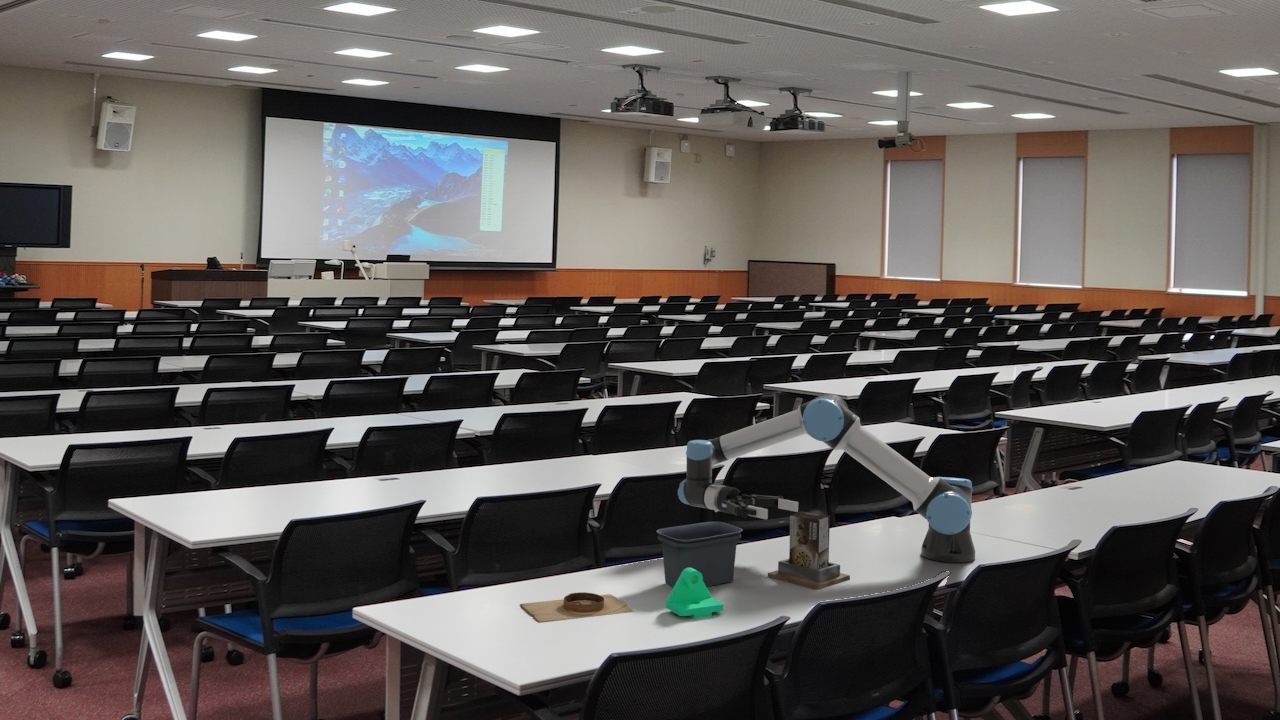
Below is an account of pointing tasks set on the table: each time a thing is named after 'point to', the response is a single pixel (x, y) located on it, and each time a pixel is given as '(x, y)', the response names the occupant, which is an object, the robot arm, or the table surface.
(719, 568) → the storage bin
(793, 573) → the socket
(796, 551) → the coffee box
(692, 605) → the camera mount
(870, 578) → the table surface
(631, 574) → the table surface
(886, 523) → the table surface
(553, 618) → the board
